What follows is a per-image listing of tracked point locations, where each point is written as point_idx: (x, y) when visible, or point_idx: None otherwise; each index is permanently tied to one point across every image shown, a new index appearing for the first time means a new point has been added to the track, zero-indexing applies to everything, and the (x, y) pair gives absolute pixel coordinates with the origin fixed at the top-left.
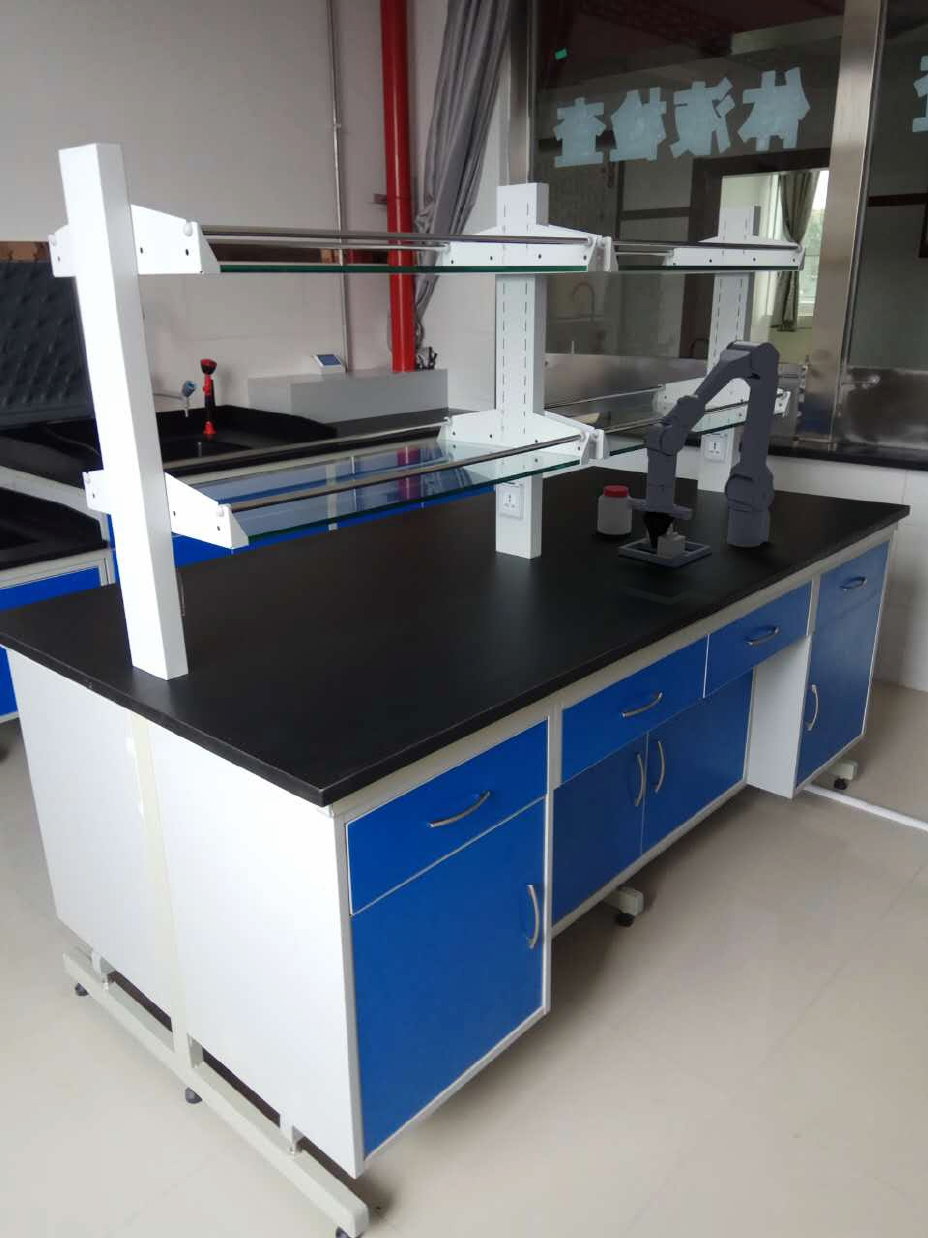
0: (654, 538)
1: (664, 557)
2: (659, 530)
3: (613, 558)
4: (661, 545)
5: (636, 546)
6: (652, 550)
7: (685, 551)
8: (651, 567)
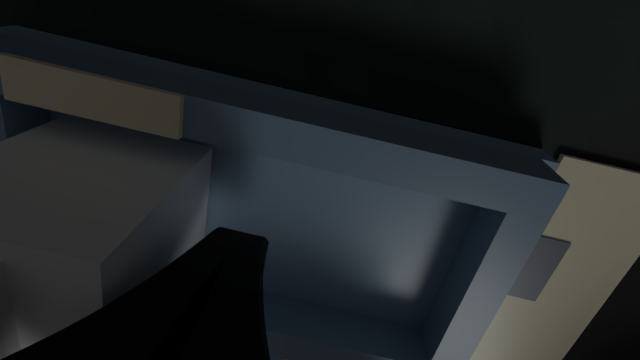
0: (193, 277)
1: (60, 66)
2: (38, 343)
3: (564, 137)
4: (108, 198)
5: (439, 316)
6: (325, 311)
7: None
8: (227, 64)
